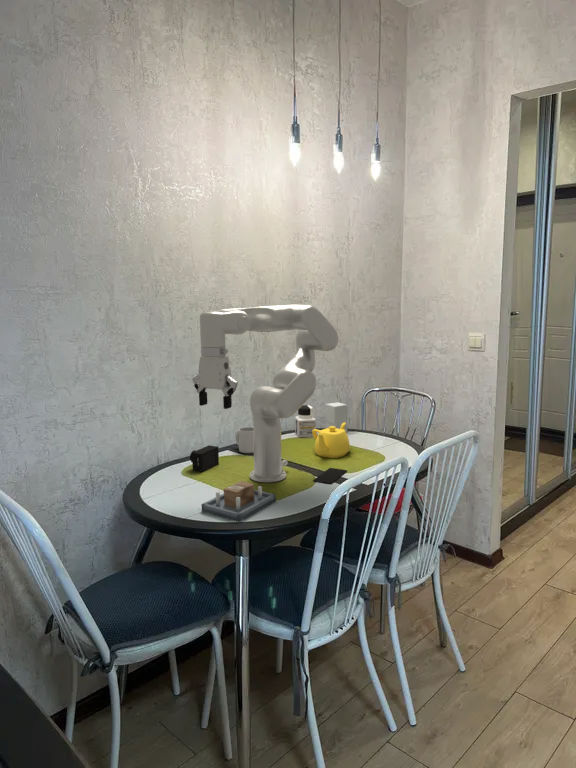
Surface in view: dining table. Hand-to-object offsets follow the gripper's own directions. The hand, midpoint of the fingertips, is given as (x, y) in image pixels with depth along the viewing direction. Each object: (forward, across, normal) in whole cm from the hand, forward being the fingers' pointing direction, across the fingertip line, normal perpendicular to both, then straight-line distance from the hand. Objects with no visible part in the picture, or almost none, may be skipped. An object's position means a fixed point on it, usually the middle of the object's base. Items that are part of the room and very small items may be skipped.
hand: (215, 406), depth 175 cm
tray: (+28, -13, +6) cm, 32 cm away
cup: (+28, +20, -41) cm, 54 cm away
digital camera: (+28, +20, -16) cm, 38 cm away
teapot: (+29, -11, -56) cm, 64 cm away
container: (+29, +11, -74) cm, 80 cm away
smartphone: (+29, -24, -31) cm, 49 cm away
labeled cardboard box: (+27, -13, +6) cm, 31 cm away
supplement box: (+29, +2, -86) cm, 91 cm away
